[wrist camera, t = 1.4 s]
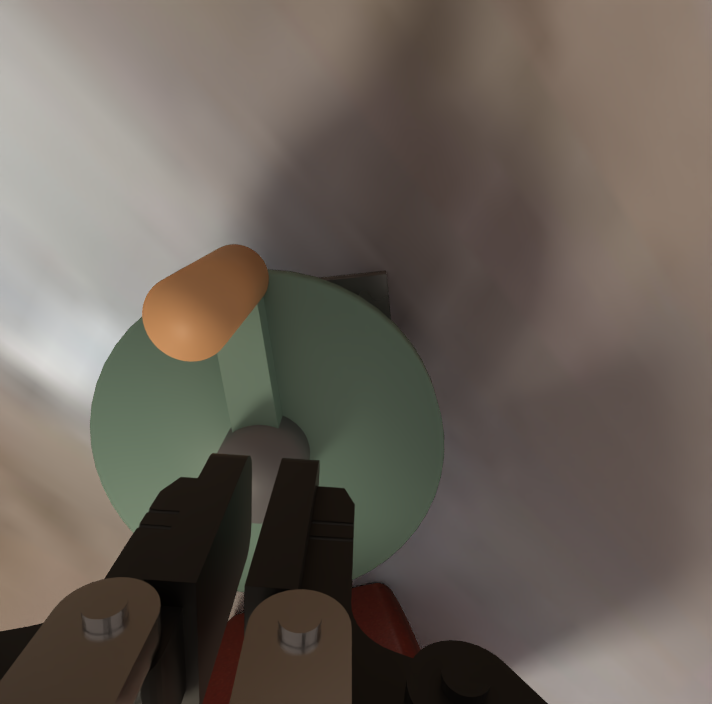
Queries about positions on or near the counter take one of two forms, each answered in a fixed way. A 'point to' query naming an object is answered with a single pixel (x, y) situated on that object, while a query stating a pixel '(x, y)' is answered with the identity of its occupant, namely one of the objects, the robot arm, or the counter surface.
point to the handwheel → (269, 397)
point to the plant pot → (370, 611)
